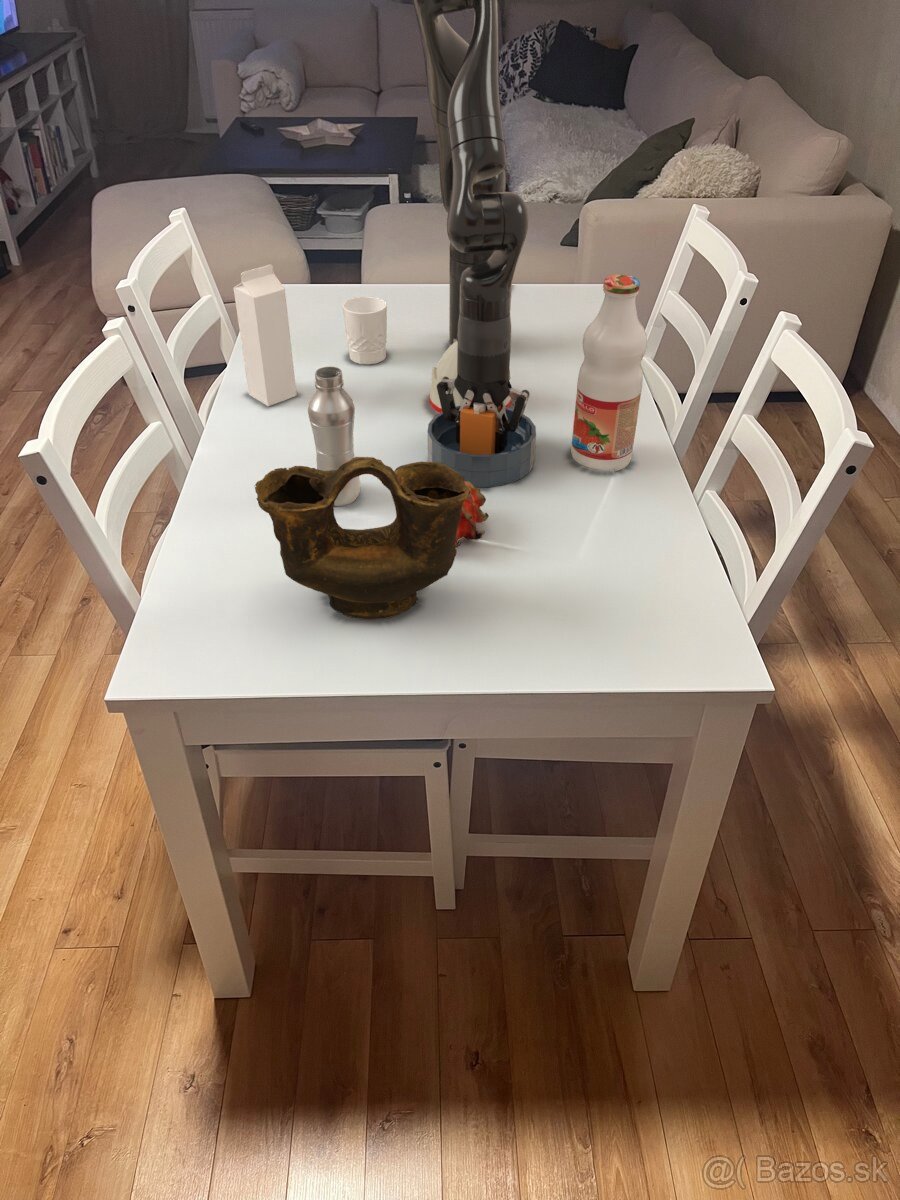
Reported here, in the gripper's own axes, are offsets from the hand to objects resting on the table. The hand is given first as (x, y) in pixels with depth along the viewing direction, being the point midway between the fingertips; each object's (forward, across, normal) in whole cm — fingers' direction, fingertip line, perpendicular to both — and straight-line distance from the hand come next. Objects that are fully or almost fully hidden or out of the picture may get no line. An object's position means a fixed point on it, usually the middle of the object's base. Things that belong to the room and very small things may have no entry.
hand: (481, 448), depth 143 cm
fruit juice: (+3, -17, -8) cm, 19 cm away
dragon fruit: (+3, -3, +20) cm, 20 cm away
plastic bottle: (+3, +16, +17) cm, 23 cm away
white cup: (+3, +32, -29) cm, 43 cm away
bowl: (+3, 0, 0) cm, 3 cm away
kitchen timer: (+3, +8, -18) cm, 20 cm away
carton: (+2, 0, 0) cm, 2 cm away
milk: (+3, +41, -9) cm, 42 cm away
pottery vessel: (+3, +2, +36) cm, 36 cm away
